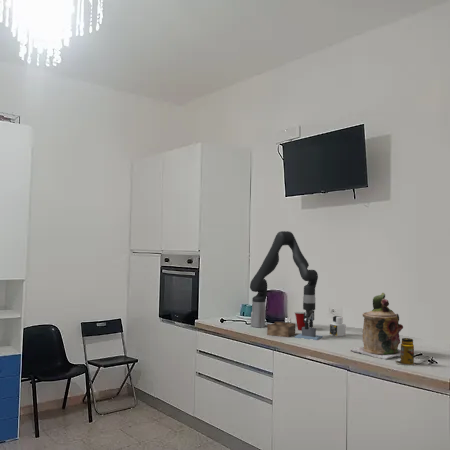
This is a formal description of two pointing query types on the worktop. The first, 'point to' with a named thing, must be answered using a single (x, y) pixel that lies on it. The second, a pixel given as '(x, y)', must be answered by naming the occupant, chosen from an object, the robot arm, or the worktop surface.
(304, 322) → the robot arm
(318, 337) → the cover plate
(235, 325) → the worktop surface
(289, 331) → the wooden box
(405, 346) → the condiment
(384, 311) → the cookie jar
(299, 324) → the plastic cup
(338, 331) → the medicine bottle
